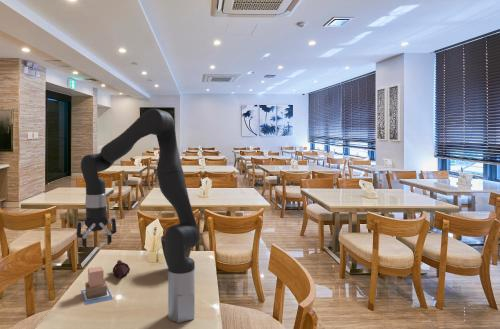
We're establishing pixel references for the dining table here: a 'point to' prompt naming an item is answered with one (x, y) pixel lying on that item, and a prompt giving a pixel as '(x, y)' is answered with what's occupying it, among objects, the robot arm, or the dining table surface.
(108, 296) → the blueprint mat
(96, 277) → the terracotta block
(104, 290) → the walnut base
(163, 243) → the plant pot
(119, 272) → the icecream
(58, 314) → the dining table surface
